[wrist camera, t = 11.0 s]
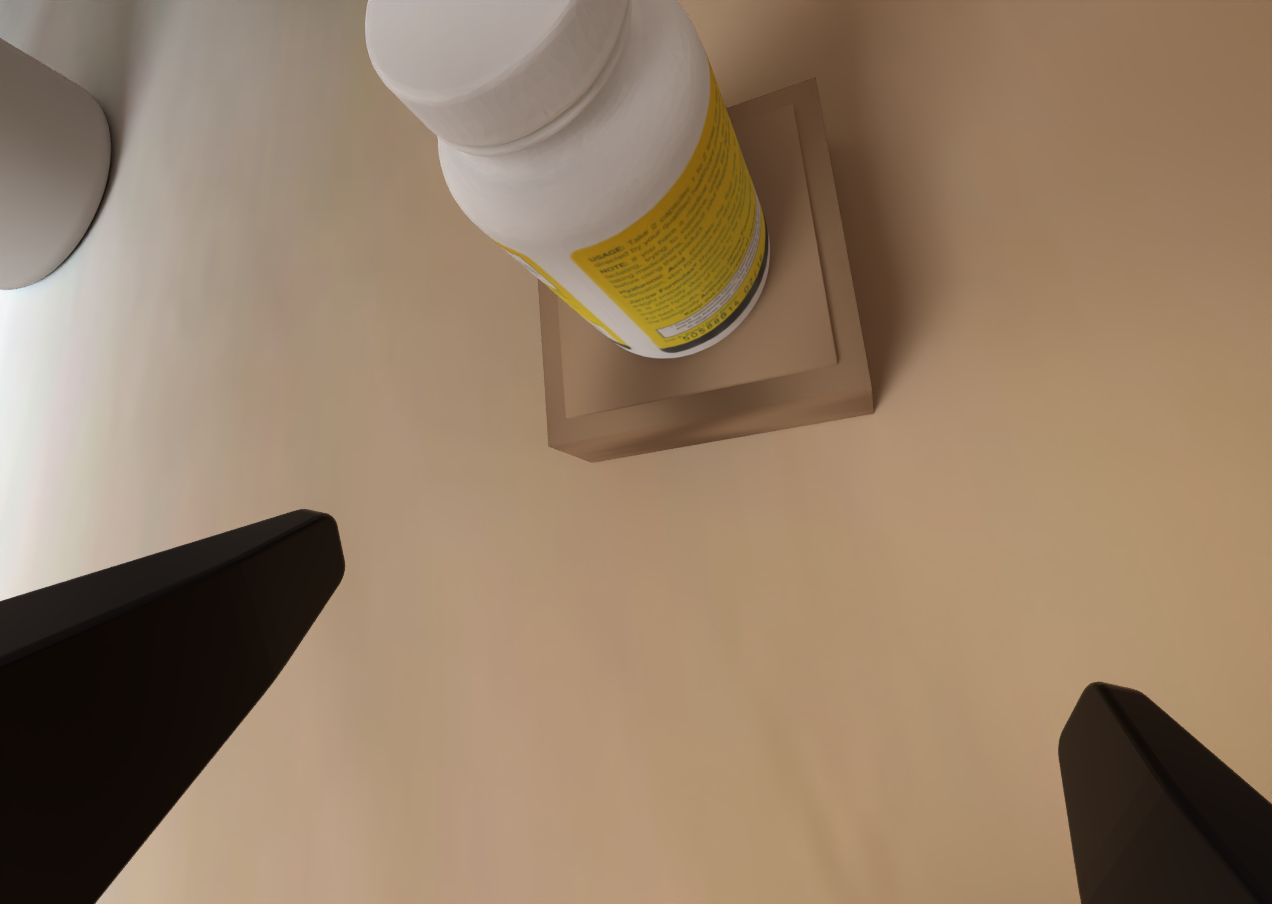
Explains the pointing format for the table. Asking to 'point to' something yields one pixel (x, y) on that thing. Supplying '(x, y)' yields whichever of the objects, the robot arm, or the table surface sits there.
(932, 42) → the table surface
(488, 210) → the supplement bottle
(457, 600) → the table surface
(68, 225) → the cylinder vase
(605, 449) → the square wooden block
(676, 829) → the table surface
